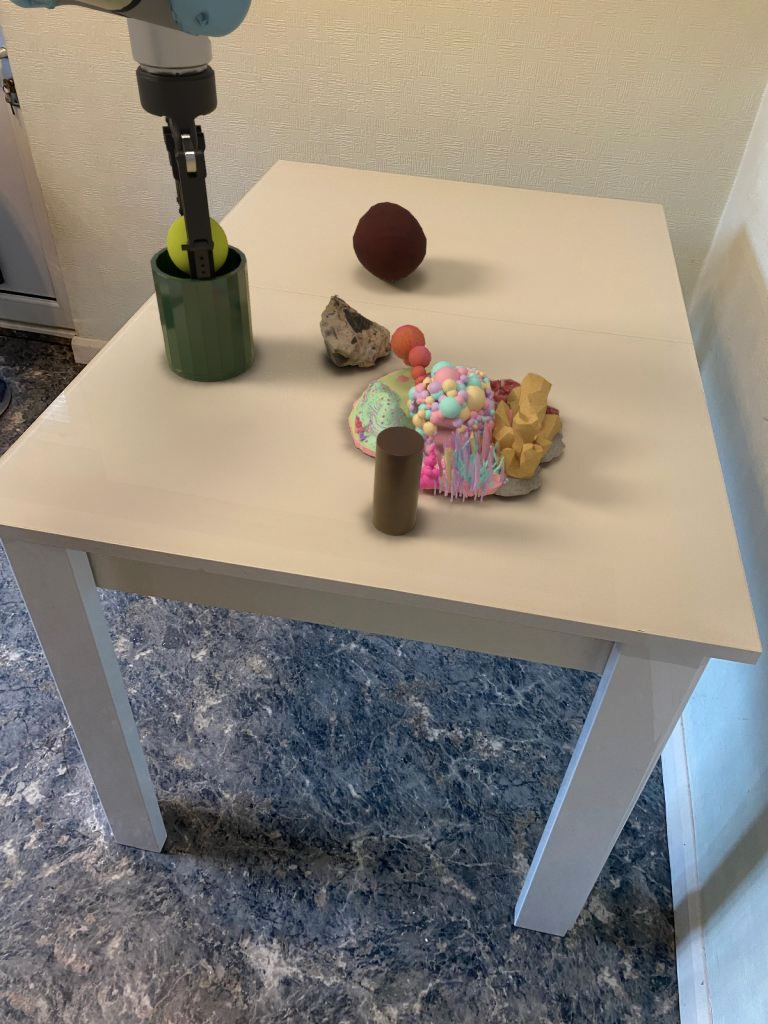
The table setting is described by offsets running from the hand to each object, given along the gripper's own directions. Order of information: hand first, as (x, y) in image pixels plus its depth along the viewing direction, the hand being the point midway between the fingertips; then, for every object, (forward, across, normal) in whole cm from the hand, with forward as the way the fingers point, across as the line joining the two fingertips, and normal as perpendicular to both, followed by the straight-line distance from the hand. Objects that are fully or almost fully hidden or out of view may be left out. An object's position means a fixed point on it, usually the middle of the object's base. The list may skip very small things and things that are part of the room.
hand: (202, 286), depth 87 cm
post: (+10, -34, -14) cm, 38 cm away
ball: (-5, 0, 0) cm, 5 cm away
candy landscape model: (+10, -22, -25) cm, 35 cm away
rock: (+10, -4, -18) cm, 21 cm away
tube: (+10, 0, 0) cm, 10 cm away
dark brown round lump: (+10, +18, -29) cm, 35 cm away
